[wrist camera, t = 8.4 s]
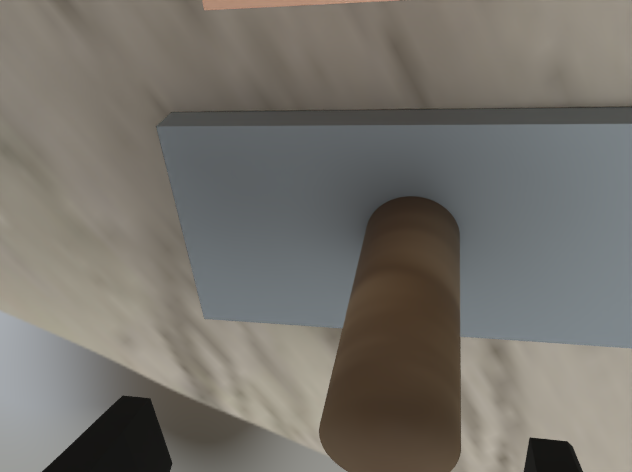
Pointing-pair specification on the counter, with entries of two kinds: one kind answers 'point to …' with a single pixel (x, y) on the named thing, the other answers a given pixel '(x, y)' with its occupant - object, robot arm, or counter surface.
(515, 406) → the counter surface
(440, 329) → the peg
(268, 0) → the square hollow frame
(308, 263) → the board
